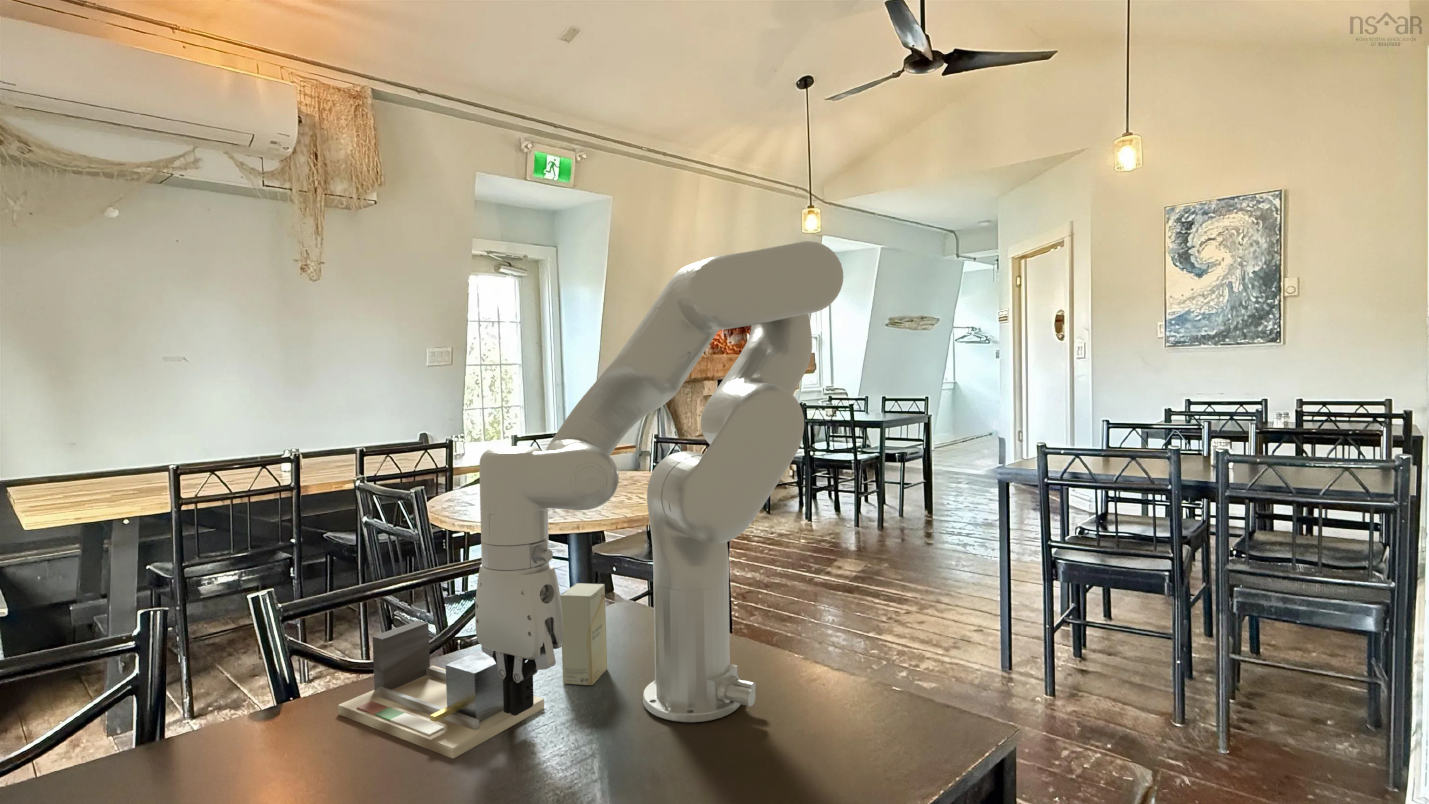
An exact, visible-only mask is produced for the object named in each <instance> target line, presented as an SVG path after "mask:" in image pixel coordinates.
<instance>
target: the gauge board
mask: <svg viewBox="0 0 1429 804" xmlns="http://www.w3.org/2000/svg"><path fill="white" fill-rule="evenodd" d="M429 629H430V628H429V622H427V621H423V620H419V619H418V620H416V621H413V622H410V623H407V624H403V625H401V626H398V627H396V628H393V629H389V630H387V631H384V632H380V633H378V634H375V635H372V657H373V658H372V659H373V661H372V663H373V682H374V688H373V690H371V691H368V692H365V693H363V694H361V695H358V696H356V697H354V698H352V699H348V700H346V701H344V702H340V704H338V706H337V709H338V710H337V711H338V715H339V716H342V717H345V718H347V719H350V720H352V721H355V722H358V723H360V724H363V725H365V726H368V727H371V728H372V729H376V730H378V731H381V732H383V733H386V734H389V735H391V736H393V737H396V738H399V739H402V740H404V741H406V742H409V743H410V744H411V743H412V744H415V745H417V746H419V747H422V748H424V749H427V750H430V751H433V752H435V753H436V754H437V753H438V754H441V755H443V756H445V757H448V758H449V759H450V758H451V759H455V758H457V757H460V756H461V755H463V754H465V753H466V752H468V751H469V750H472V749H474V748H475V747H477V746H479V745H480V744H483V743H484V742H486V741H487V740H489V739H491V738H494V737H495V736H497V735H499V734H500V733H502V732H503V731H504V732H505V730H507V729H510V728H511V727H513V726H515V725H516V724H518V723H521V722H522V721H524V720H525V719H527V718H529V717H531V716H532V715H535V714H536V713H538V712H540V711H542V710H544V709H545V698H543V697H540V696H537V695H533V699H534V704H533V706H532V707H531V708H529V709H527V710H525V711H524V712H522V713H520V714H518V715H516V716H514V715H511V714H510V713H509V714H508V713H505V712H504V710H502V711H500V712H498V713H496V714H494V715H492V716H490V717H488V718H486V719H485V720H483V721H481V722H479V720H478V719H475V718H472V717H470V716H467V715H464V714H461V713H458V712H454V713H452V714H450V715H448V716H446V717H444V718H442V719H440V720H438V721H436V722H434V721H431V720H430V715H432V714H434V713H436V712H438V711H440V710H442V709H444V708H446V707H447V692H446V668H442V667H439V666H436V665H431V661H430V660H431V658H430V657H431V656H430V631H429Z"/></svg>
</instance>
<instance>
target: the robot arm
mask: <svg viewBox="0 0 1429 804" xmlns="http://www.w3.org/2000/svg"><path fill="white" fill-rule="evenodd" d="M843 283H844V270H843V267H842V263H841V261H840V258H839V257H838V256H837V254H836V253H835V252H834V251H833V250H832V249H831V248H830V247H828V246H827V245H825V244H823V243H820V242H817V241H812V240H811V241H809V240H808V241H807V240H806V241H799V242H794V243H793V242H792V243H789V244H782V245H778V246H772V247H767V248H762V249H756V250H749V251H744V252H743V251H742V252H737V253H731V254H730V253H729V254H721V255H717V256H711V257H709V258H705V259H702V260H700V261H696V262H693V263H691V264H687V265H685V266H684V267H681V268H680V269H679V270H678V271H677V272H676V273H675V274H673V276H672V277H671V278H670V280H669V281H668V282H667V284H666V285H665V287H664V288H663V289H662V291H660V294H659V295H658V297H656V300H655V301H654V302H653V304H652V305H651V307H650V308H649V310H648V311H647V313H646V314H645V315H644V317H643V319H642V320H641V322H640V323H639V324H638V326H637V327H636V328H635V330H634V331H633V333H632V334H631V336H630V337H629V339H628V340H627V341H626V342H625V344H624V345H623V347H622V348H621V350H620V351H619V352H618V354H617V356H615V358H614V359H613V360H612V362H611V363H610V364H608V366H607V367H606V368H605V369H604V370H603V371H602V373H601V374H600V376H599V377H598V378H597V380H596V381H595V382H594V383H593V384H592V386H591V387H590V388H589V389H588V390H587V391H586V392H585V394H584V395H583V396H582V397H581V398H580V400H579V401H578V402H577V403H576V404H575V406H574V408H573V409H572V410H571V412H570V413H569V414H568V416H567V417H566V419H565V420H564V421H563V423H562V424H561V426H560V427H559V428H558V430H557V432H556V433H555V435H554V436H553V438H552V439H551V441H550V442H549V444H548V445H547V446H546V448H545V450H542V449H540V448H538V447H535V446H529V445H513V446H512V445H509V446H499V447H498V446H497V447H493V448H489V449H487V450H486V451H484V452H483V453H482V455H481V456H480V458H479V464H478V465H479V472H478V474H479V500H480V501H479V509H480V510H479V513H480V545H481V547H480V550H481V552H480V553H481V564H480V565H479V570H478V576H477V584H476V593H475V594H476V595H475V618H474V619H475V620H474V621H475V634H476V635H475V636H476V639H477V643H479V645H481V647H480V648H481V649H480V650H482V651H483V652H484V653H485V654H487V655H489V656H490V657H492V658H493V659H494V661H495V662H496V664H497V666H498V674H499V676H500V677H501V678H504V680H503V703H504V712H505V713H508V714H509V713H510V714H511V715H514V716H516V715H518V714H520V713H522V712H524V711H525V710H527V709H529V708H531V707H532V706H533V704H534V699H533V696H534V676H535V675H536V674H538V671H542V670H548V669H551V668H552V667H554V666H556V663H557V662H556V656H555V652H554V650H557V649H560V648H562V645H563V619H562V607H561V598H560V595H561V592H560V586H559V582H558V577H557V572H556V569H555V566H554V565H552V564H550V562H551V561H552V559H553V557H554V556H553V555H554V554H553V553H554V552H553V551H552V550H551V549H550V548H549V547H550V546H549V509H555V510H569V511H589V510H593V509H597V508H599V507H601V506H603V505H605V504H606V503H608V502H609V501H610V500H611V499H612V497H613V496H614V495H615V493H616V492H617V489H618V486H619V481H620V480H619V479H620V478H619V477H620V475H619V471H618V470H619V469H618V467H617V465H616V462H615V460H614V459H613V458H612V456H611V455H612V453H613V452H614V451H615V449H616V447H617V446H618V445H619V443H620V442H621V441H622V440H623V438H624V437H625V436H626V434H627V433H628V432H629V431H630V430H632V428H633V427H634V426H635V425H636V424H637V423H638V422H640V420H642V419H643V418H645V417H646V416H647V415H649V414H651V413H652V412H654V411H657V410H658V409H660V408H661V407H663V406H664V405H665V404H667V403H668V402H669V401H670V400H672V399H673V398H674V397H676V395H677V394H678V393H679V391H680V389H681V388H682V386H683V385H684V383H685V382H686V380H687V379H688V377H689V376H690V374H691V373H692V371H693V370H694V368H695V367H696V365H697V364H698V362H699V360H700V359H701V358H702V357H703V355H704V353H705V352H706V350H707V348H708V347H709V345H710V344H711V343H712V341H713V340H714V338H715V337H716V335H717V334H718V332H719V331H720V330H721V331H723V330H730V329H737V328H742V327H743V328H744V327H749V326H751V327H750V332H749V337H748V340H747V341H746V343H745V344H744V346H743V348H742V351H741V352H740V354H739V356H738V358H737V359H735V362H734V363H733V364H732V366H731V367H730V369H729V370H728V372H726V375H725V376H724V377H723V379H722V380H721V382H720V383H719V385H718V386H717V387H716V389H715V391H714V392H713V393H712V395H710V397H709V399H708V401H707V402H706V403H705V406H704V408H703V411H702V413H701V418H700V428H701V429H700V431H701V434H702V436H703V437H704V439H705V440H706V442H707V443H708V444H709V446H708V447H707V449H706V451H705V452H704V453H701V452H696V451H688V450H684V451H679V452H675V453H674V452H673V453H672V454H669V455H667V456H665V457H664V458H663V459H661V461H659V462H658V464H656V465H655V467H654V469H653V470H652V472H651V474H650V477H649V479H648V484H647V489H646V501H647V513H648V520H649V526H650V527H649V528H650V534H651V545H652V548H651V549H652V568H653V570H652V571H653V574H652V575H653V577H652V578H653V580H652V581H653V584H652V585H653V586H652V587H653V636H654V637H653V638H654V640H653V642H654V644H653V645H654V680H653V681H652V682H650V683H649V684H647V685H646V687H645V688H644V690H643V692H642V694H643V695H642V702H643V706H644V708H645V709H646V711H648V712H650V713H651V714H652V715H654V716H655V717H657V718H661V719H663V720H666V721H672V722H679V723H701V722H703V723H704V722H709V721H713V720H717V719H721V718H725V717H726V716H728V715H729V714H732V713H734V712H735V711H736V710H737V709H739V707H740V706H741V705H743V706H747V707H753V705H754V704H755V701H756V695H757V694H756V689H757V688H756V687H757V685H756V684H757V683H756V682H754V681H750V680H743V679H740V677H739V676H738V670H739V669H738V665H736V664H733V663H730V662H731V657H730V656H731V651H730V650H731V649H730V648H731V647H730V641H731V639H730V581H729V580H730V560H729V559H730V558H729V557H730V556H729V549H728V548H729V547H728V542H730V541H732V540H735V539H736V538H737V537H739V536H740V535H741V534H742V533H744V532H745V531H746V529H748V527H750V525H751V524H752V523H753V522H754V520H755V519H756V518H757V516H758V515H759V513H760V511H761V510H762V509H763V507H764V506H765V504H766V502H767V501H768V499H769V498H770V496H771V495H772V492H773V491H774V490H775V488H776V486H777V485H778V483H779V482H780V480H781V479H782V478H783V476H784V475H785V473H786V471H787V470H788V468H789V466H790V465H791V464H792V461H793V460H794V458H795V456H796V455H797V453H798V451H799V448H800V446H801V444H802V441H803V436H804V431H805V418H804V413H803V409H802V407H801V405H800V402H799V401H798V399H797V398H796V397H795V396H794V392H796V390H797V388H798V386H799V384H800V383H801V381H802V379H803V377H804V375H805V374H806V372H807V369H808V367H809V364H810V361H811V358H812V351H813V337H812V328H811V322H810V316H809V314H813V313H814V314H815V313H817V312H820V311H822V310H824V309H826V308H827V307H829V306H830V305H832V303H834V301H835V300H836V299H837V297H838V296H839V294H840V293H841V290H842V288H843Z"/></svg>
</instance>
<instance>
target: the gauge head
mask: <svg viewBox="0 0 1429 804" xmlns="http://www.w3.org/2000/svg"><path fill="white" fill-rule="evenodd" d="M445 669H446V692H447V707H446V708H444V709H442V710H440V711H438V712H436V713H434V714H432V715H430V720H431V721H434V722H436V721H438V720H440V719H442V718H444V717H446V716H448V715H450V714H452V713H454V712H458V713H461V714H464V715H467V716H470V717H472V718H475V719H478V720H479V722H481V721H483V720H485V719H486V718H488V717H490V716H492V715H494V714H496V713H498V712H500V711H502V710H504V703H503V680H504V678H501V677H500V676H499V674H498V666H497V664H496V662H495V661H494V659H493V658H492V657H490V656H489V655H487V654H485V653H484V652H483V651H482V649H479V650H478V651H475V652H473V653H470V654H467V655H466V656H463V657H461V658H459V659H456V660H454V661H451V662H449V663H447V664H445Z"/></svg>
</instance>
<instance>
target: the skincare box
mask: <svg viewBox="0 0 1429 804" xmlns="http://www.w3.org/2000/svg"><path fill="white" fill-rule="evenodd" d="M605 589H606V587H605V583H586V582H585V583H581V582H576V583H575V584H573V585H572V586H570V587H569V588H568V589H566V590H565V591H564V592H562V593H560V598H561V607H562V619H563V645H562V647H561V659H562V661H561V662H562V663H561V664H562V666H561V667H562V683H563V684H564V685H565V684H569V685H577V686H593V685H594V684H595V683H596V682H597V681H598V680H599V679H600V678H601V676H602V675H603V674H604V673H605V672H606V671H607V669H608V650H607V647H608V645H607V621H606V619H607V617H606V616H607V614H606V590H605Z"/></svg>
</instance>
